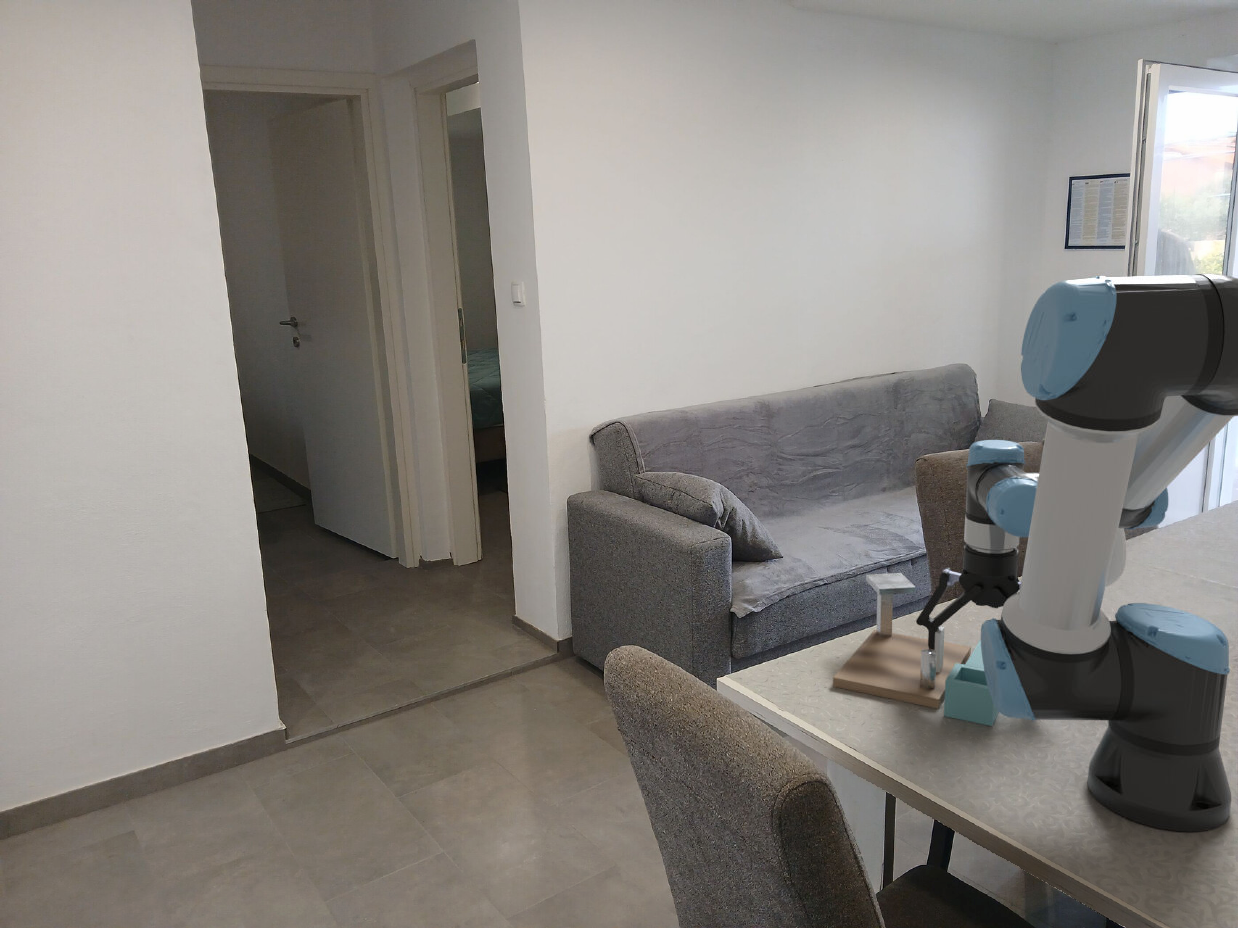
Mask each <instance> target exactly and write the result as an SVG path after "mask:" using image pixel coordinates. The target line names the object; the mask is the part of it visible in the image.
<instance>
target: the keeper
mask: <svg viewBox="0 0 1238 928" xmlns="http://www.w3.org/2000/svg"><path fill="white" fill-rule="evenodd" d="M865 581H866V582H867V583H868V585H870V586H871V587H872V589H873V590H874V591H875V592H876V595H877V596H876V598H877V601H876V630H877V633H878V635H879V636H880V637H884V636H892V633H893V610H894V609H893V605H894V603H893V602H894V595H900V594H901V595H903V594H916V592H917V587H916V586H915V584H913V583H912V581H910V580H909V579H908V578H907V577H906V576H905V575H904V574H903V573H902V572H893V573H892V572H890V573H875V574H865Z"/></svg>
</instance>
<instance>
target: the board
mask: <svg viewBox="0 0 1238 928" xmlns="http://www.w3.org/2000/svg"><path fill="white" fill-rule="evenodd" d="M924 649H929V647H928V638H923V637H918V636H911V635H906V634H901V633H895V632H892V636H884V637H880V636H879V635H878V633H877V629H874V630H873V631H872V632H871V633H870V634H869V636H868V637H866V639H865V640H864V641H863V642H862V644H861V645H859V647H858V648H857V649H856V650H855V651H854V653H852V654H851V656H850V657H849V658H848V660H847V661H846V662H844V664H843V665H842V666H841V668H840V669H839V670H838V671H837V672H836V673H835V675H834V676H832V687H833V688H834V687H835V688H838V689H839V688H840V689H844V690H849V691H853V692H858V693H862V694H867V695H872V696H877V697H881V698H886V699H890V700H895V701H900V702H905V703H909V704H914V705H920V706H923V707H929V708H933V709H936V710H937V709H938V710H939V709H940V707H941V705H942V704H943V703H944V701H945V680H946V679H947V677H948V675H949V674H950V672H951V671H952V669H953V667H954V666H955V664H956V663H959V664H964V665H965V664H966V663H967V661H968V659H969V658H970V656H971V654H972V653H971V651H972V646H969V645H963V644H957V643H951V642H946V641H944V654H943V667H942V669H941V670H940V672H939V673H937V672H936V685H935V688H934V689H931V690H928V689H923V688H921V687H920V672H921V651H922V650H924ZM931 650H932V649H931ZM934 651H935V650H934Z"/></svg>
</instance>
